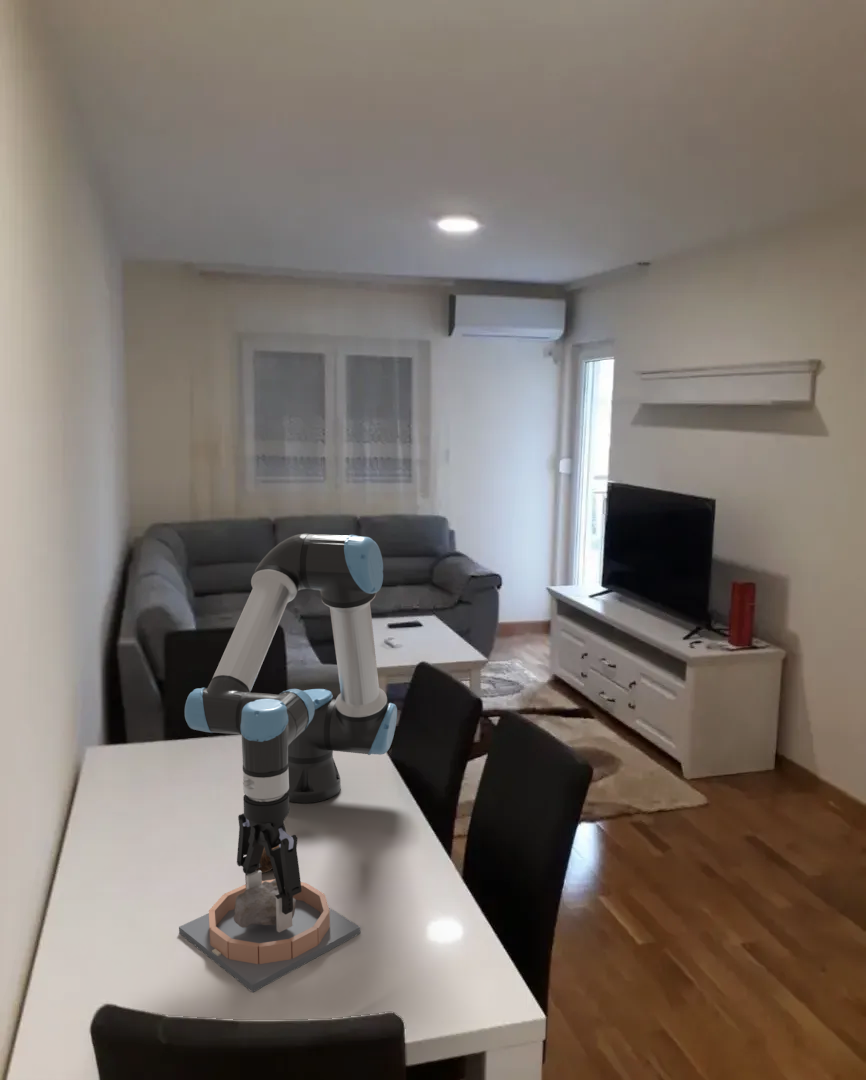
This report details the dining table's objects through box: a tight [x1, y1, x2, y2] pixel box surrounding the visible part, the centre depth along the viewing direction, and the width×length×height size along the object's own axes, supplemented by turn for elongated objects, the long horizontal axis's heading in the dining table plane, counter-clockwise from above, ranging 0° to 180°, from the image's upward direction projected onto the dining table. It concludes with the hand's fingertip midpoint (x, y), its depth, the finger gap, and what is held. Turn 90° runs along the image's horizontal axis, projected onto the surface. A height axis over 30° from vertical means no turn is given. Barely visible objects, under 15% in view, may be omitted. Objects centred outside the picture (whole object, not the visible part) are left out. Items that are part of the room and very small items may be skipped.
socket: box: [178, 878, 361, 993], centre depth 156 cm, size 22×22×4 cm
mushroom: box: [256, 845, 279, 874], centre depth 178 cm, size 8×8×6 cm
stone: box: [234, 879, 296, 928], centre depth 155 cm, size 10×8×6 cm
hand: (269, 917), depth 156 cm, fingers closed on stone, 8 cm apart
